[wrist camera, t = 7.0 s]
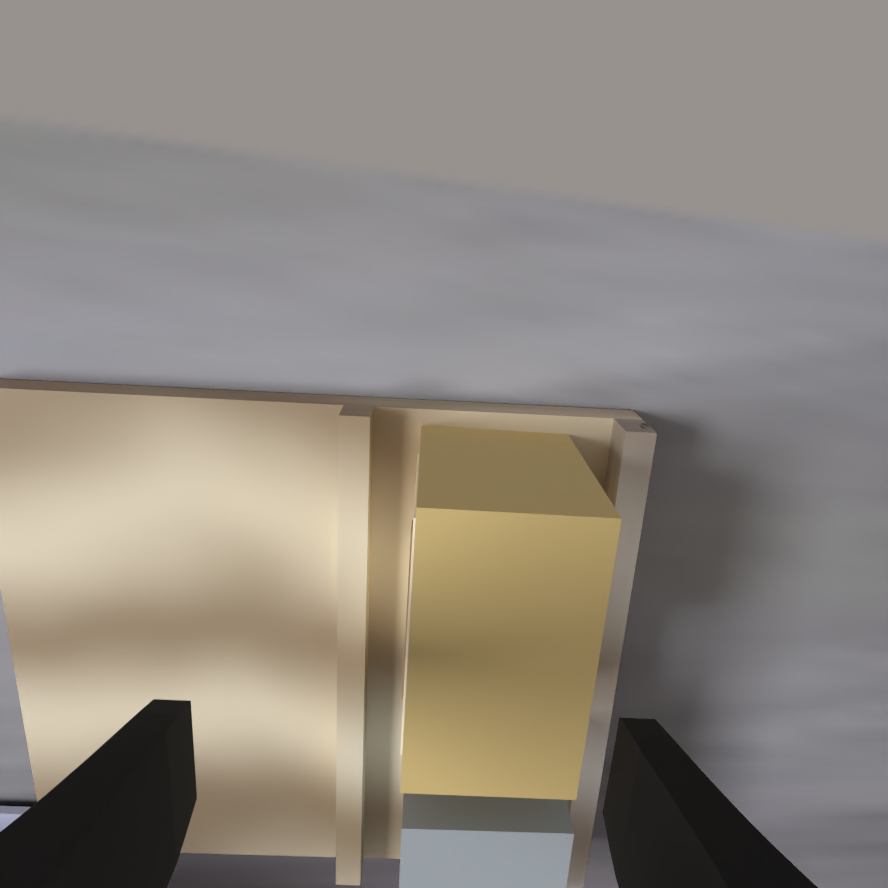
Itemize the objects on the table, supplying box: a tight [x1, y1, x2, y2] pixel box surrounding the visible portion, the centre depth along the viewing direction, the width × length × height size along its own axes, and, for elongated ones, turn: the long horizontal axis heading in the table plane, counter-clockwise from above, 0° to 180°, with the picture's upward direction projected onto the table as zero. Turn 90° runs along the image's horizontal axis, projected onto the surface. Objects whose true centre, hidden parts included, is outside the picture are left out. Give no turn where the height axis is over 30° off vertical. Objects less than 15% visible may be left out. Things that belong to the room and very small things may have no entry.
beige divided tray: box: [0, 379, 657, 888], centre depth 20 cm, size 16×18×2 cm
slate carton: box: [399, 793, 574, 888], centre depth 19 cm, size 7×4×6 cm, turn 177°
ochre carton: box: [400, 426, 622, 800], centre depth 17 cm, size 7×4×6 cm, turn 176°
